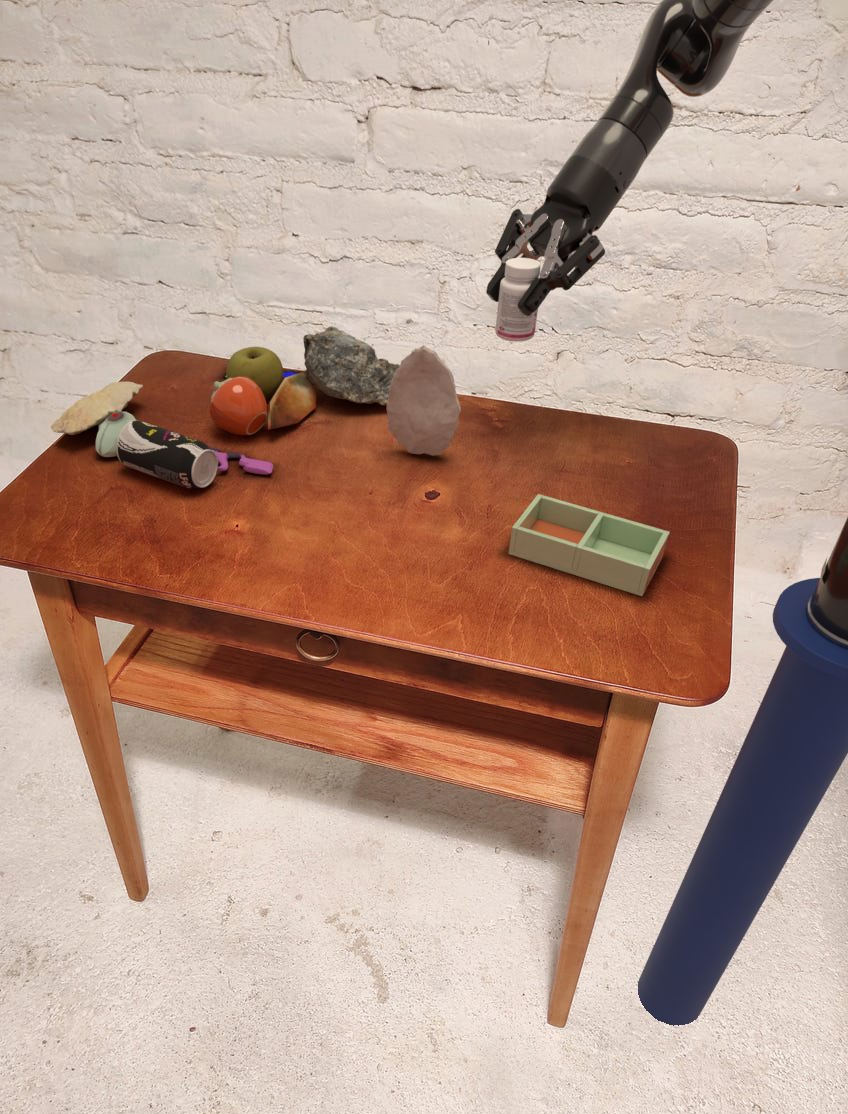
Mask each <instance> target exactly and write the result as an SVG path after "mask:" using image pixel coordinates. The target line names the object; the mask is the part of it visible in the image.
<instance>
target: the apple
mask: <svg viewBox="0 0 848 1114" xmlns="http://www.w3.org/2000/svg"><path fill="white" fill-rule="evenodd" d="M283 371H284V368H283V363H282V361H281V359H280V357H279V356H278V355H277V354H276V353H275V352H274V351H273V350H271V349H269V348H266V347H264V346H263V347H262V346H248V347H243V348H241V349H239V350H236V351H235V352H234V353H233V354H232V355H231V356H230V358H229V360H228V361H227V365H226V371H225V373H226V377H227V379H229V378H234V377H239V376H244V377H248V378H250V379H252V380H253V381H254V382H256V383H257V384H258V386H259V387H260V388H261V390H262V392H263V394H264V396H265V399H266V403H267V405H268V404H269V402H270V400H271V399H272V397H273V396H274V394H275V392H276V391H277V389H278V387H279V386H280V384H281V383H282V381H283Z"/></svg>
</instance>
